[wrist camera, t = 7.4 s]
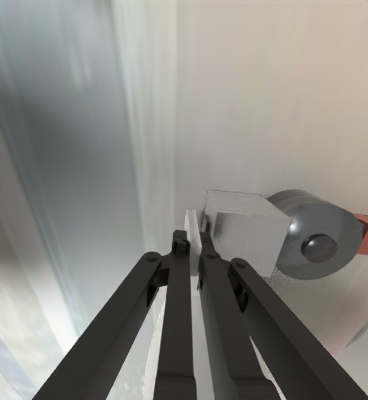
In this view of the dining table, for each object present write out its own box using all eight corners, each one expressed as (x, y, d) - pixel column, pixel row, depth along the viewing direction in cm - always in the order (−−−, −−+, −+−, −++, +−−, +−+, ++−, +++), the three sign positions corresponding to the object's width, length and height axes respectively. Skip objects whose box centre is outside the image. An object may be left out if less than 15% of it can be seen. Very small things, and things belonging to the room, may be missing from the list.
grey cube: (198, 235, 21) (202, 271, 15) (205, 189, 19) (213, 211, 13) (248, 240, 21) (270, 277, 16) (260, 195, 19) (291, 219, 14)
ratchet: (215, 243, 22) (225, 277, 16) (228, 182, 19) (244, 200, 14) (381, 259, 22) (442, 296, 17) (417, 202, 19) (503, 226, 14)
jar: (190, 320, 27) (196, 525, 13) (145, 281, 24) (88, 484, 10) (248, 289, 24) (335, 498, 10) (205, 241, 22) (243, 436, 8)
